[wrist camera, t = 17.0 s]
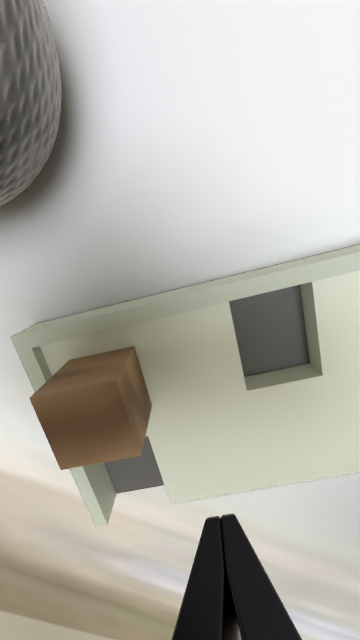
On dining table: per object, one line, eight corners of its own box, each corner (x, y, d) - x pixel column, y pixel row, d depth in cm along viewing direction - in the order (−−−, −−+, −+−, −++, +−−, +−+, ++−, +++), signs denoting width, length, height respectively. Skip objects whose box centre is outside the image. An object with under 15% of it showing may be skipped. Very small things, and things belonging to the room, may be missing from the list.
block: (152, 405, 18) (140, 455, 14) (90, 417, 18) (60, 469, 14) (134, 346, 17) (116, 380, 12) (69, 359, 17) (29, 397, 13)
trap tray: (404, 441, 21) (437, 470, 18) (106, 493, 23) (95, 526, 20) (399, 234, 16) (441, 232, 14) (35, 323, 19) (10, 336, 16)
